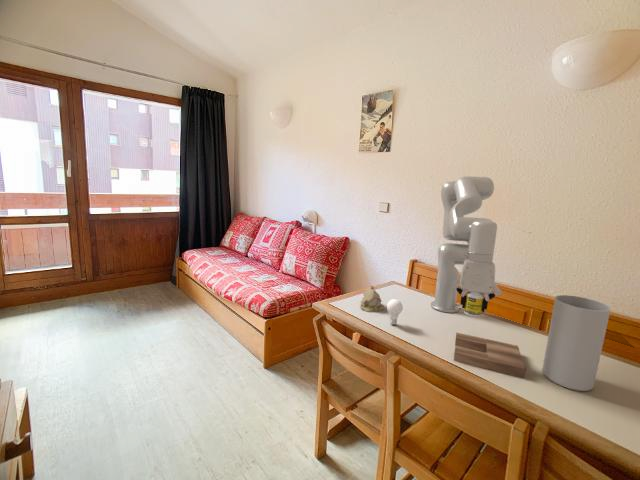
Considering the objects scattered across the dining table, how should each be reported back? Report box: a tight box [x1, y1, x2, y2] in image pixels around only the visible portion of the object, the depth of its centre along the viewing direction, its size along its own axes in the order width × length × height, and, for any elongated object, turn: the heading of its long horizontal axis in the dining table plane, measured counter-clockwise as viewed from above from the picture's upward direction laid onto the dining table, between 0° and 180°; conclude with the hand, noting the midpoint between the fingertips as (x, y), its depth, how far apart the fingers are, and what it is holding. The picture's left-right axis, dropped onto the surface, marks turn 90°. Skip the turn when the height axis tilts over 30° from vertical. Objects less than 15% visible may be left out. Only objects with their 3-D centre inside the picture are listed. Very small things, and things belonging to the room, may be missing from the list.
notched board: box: [453, 332, 526, 379], centre depth 106 cm, size 16×20×3 cm
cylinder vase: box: [541, 294, 611, 392], centre depth 93 cm, size 12×12×25 cm
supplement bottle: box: [463, 290, 485, 318], centre depth 105 cm, size 5×5×10 cm
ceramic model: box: [360, 285, 384, 313], centre depth 146 cm, size 14×11×10 cm
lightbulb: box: [386, 298, 404, 326], centre depth 127 cm, size 6×6×11 cm
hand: (473, 308), depth 106 cm, fingers closed on supplement bottle, 5 cm apart
